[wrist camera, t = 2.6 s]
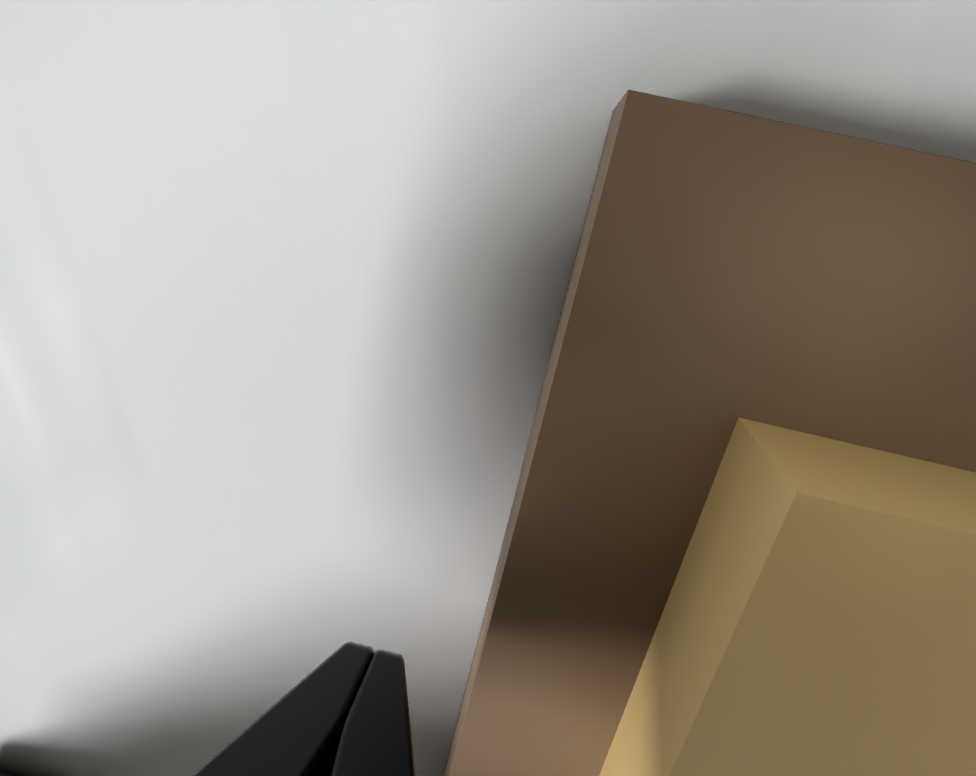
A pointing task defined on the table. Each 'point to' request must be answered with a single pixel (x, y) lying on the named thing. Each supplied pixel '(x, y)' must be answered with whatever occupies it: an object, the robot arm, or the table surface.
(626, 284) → the brown slab
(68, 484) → the table surface
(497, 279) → the table surface
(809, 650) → the tile
